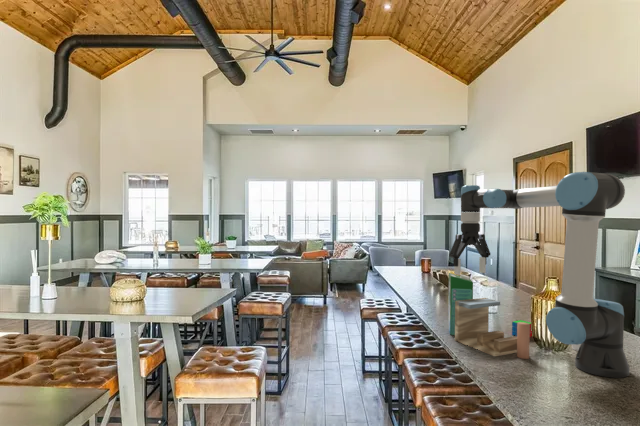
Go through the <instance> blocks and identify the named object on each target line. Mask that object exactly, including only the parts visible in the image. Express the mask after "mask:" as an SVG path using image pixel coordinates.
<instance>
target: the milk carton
mask: <svg viewBox="0 0 640 426" xmlns="http://www.w3.org/2000/svg"><path fill="white" fill-rule="evenodd" d="M447 299H448V301H447V302H448V306H447V307H448V310H447V311H448V312H447V316H448V318H447V321H448V322H447V323H448V325H447V329H448V333H449V335H450V336H455V301H459V300H469V299H474V281H472V279H471V278H470V276H469V275H465V274H461V273H460V275H457V274H454V273H451V272H448V298H447Z"/></svg>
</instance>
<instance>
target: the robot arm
mask: <svg viewBox="0 0 640 426" xmlns="http://www.w3.org/2000/svg"><path fill="white" fill-rule="evenodd" d="M625 194H626V188H625V185H624V183H623V182H622V180H621V179H620V178H619V177H617V176H616V175H613V174H611V173H606V172H605V173H603V172H602V173H601V172H591V171H577V172H571V173H568V174H567V175H565V176H563V178H561V179H560V180H559V181H558V184H557V185H550V186H549V185H548V186H539V187H530V188H519V189H517V188H516V189H501V188H488V189H481V187H480V185H471V184H470V185H463V186H461V191H460V221H461V223H460V232H461V234H457V233H456V234H455V237H454V239H455V240H454V242H453V244H452V246H451V249H450V252H449V254H448V255H449V257H450V258H452V260H453V262H452V263H453V267H454V270H453V272H454V273H453V274H455V275H458V276H460V275H461V268H462V267H461V264H462V263H461V258H460V257H461V255H462V254H463V253H464V251H465V249H466V247H468V246H471V245H472V246H473V247H475V249H476V250H477V252H478V254H479V255H480V256H479V261H478V262H479V267H478V268H479V271H478V272H479V273H480V274H481V273H482V274H487V272H486V269H487V268H486V265H487V258H489V257H490V256H491V252H490V249H489V247H488V243H487V240H486V235H485V233H480V232H481V224H480V222H481V209H514V210H517V209H518V210H520V209H525V208H544V207H546V208H547V207H562V208H561V209H562V210H561V215H562V216H563V217H564V218H565V220H566V224H565V225H566V227H565V239H564V254H563V267H562V279H561V282H562V283H561V293H560V294H558V295H557V296H556V297H555V299H554V300H555V302H554V307H553V308H551V309H550V310H549V311H548V312H547V314H546V316H545V321H546V327H547V329H548V331H549V332H550V334H551V335H552V337H553V338H554V339H555V340H556V341H558V342H559V343H562V344H565V345H568V346H569V345H572V344H576V345H578V344H581V345H580V348H579V350H578V351H577V353H576V356H575V358H574V365H575V367H576V368H577V369H579V370H581V371H583V372H585V373H588V374H591V375H595V376H599V377H604V378H614V379H615V378H616V379H618V378H620V379H621V378H627V377H629V376H630V375H631V374H630V373H631V372H630V370H631V369H630V366H629V362H628V359H627V357H626V354H625V351H624V330H625V329H624V326H625V324H624V323H625V322H624V321H625V312H624V306H623V305H622V304H621V303H620V302H616V301H611V300H604V299H599V298H594V285H595V273H596V272H595V271H596V262H597V261H596V260H597V248H598V237H599V236H598V235H599V224H600V221H602V220H603V219H605V217H606V213H607V212H606V210H609V209H612V208H615V207H617V206H619V204H620V203H621V202H622V201H623V199H624V198H625Z"/></svg>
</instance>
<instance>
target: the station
mask: <svg viewBox="0 0 640 426" xmlns="http://www.w3.org/2000/svg"><path fill="white" fill-rule="evenodd" d="M495 306H501V301H499V300H496V299H491V298H488V297H481V298H480V297H479V298H473V299H469V300H459V301H455V335H454V341H456V342H458V343H460V344H463V345H465V346H467V345H468V347H470V348H472V347H473V349H474V350H477V349H478V350H477V351H479V352H480V351H481V352H483V353H485V354H487V355H490V356H491V357H492V356H493V357H499V356H505V355H506V356H507V355H511V354H517V336H514V335H513V336H510V337H505V332H503V331H501V330H493V331H489V324H490V323H489V315H490V312H489V308H490V307H495Z"/></svg>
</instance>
